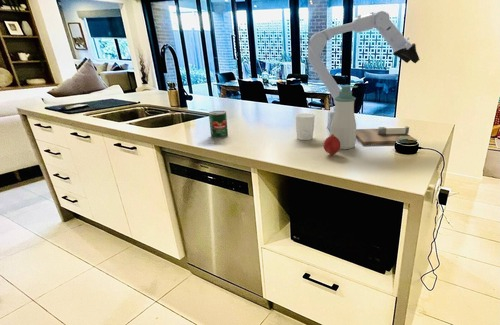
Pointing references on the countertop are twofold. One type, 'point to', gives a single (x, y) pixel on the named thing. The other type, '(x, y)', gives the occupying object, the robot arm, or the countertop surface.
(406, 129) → the dial lever
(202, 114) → the countertop surface
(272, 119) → the countertop surface
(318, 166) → the countertop surface
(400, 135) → the dial board
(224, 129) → the canned tomato
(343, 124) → the soap bottle
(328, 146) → the onion
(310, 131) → the white cup
